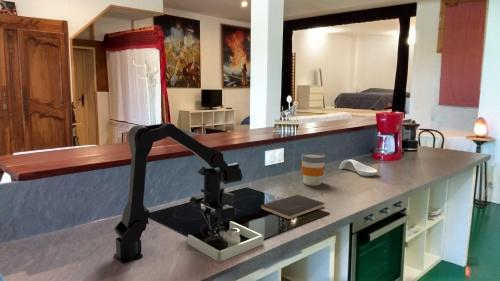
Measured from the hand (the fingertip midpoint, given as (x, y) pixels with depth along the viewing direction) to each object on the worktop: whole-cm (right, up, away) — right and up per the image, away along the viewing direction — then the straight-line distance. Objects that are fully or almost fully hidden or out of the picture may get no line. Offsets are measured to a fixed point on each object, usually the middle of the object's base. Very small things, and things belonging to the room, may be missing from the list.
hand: (211, 229), depth 129 cm
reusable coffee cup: (+46, +8, +69) cm, 83 cm away
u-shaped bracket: (+5, -4, -5) cm, 8 cm away
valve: (+5, -4, -6) cm, 9 cm away
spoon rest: (+76, +11, +92) cm, 120 cm away
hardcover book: (+31, +1, +31) cm, 44 cm away
